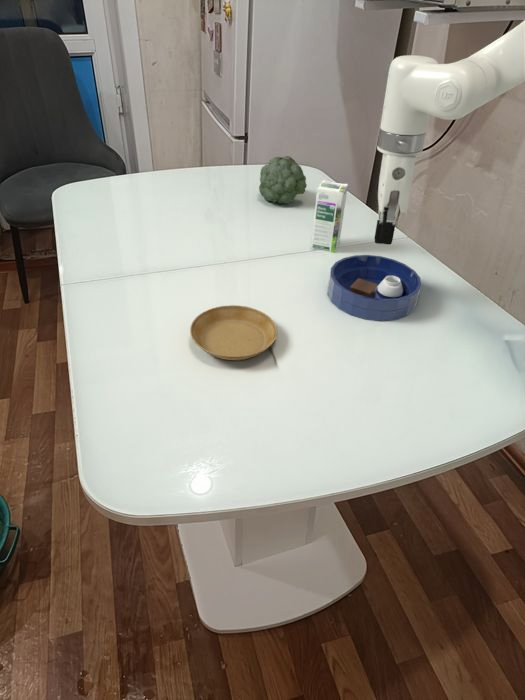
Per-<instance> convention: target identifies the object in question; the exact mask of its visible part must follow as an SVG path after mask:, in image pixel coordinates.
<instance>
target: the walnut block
mask: <svg viewBox="0 0 525 700" xmlns="http://www.w3.org/2000/svg"><path fill="white" fill-rule="evenodd" d="M377 287H378V284H375V283H372V282H369V281H366V280H363V279H360V278H358V279H357V280H356V281H355V282H354V283H353V284H352V285H351V286H350V290H349V291H351V292H353V293H355V294H358V295H362V296H365V297H369V298H375V296H376V291H377Z"/></svg>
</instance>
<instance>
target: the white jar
mask: <svg viewBox="0 0 525 700" xmlns="http://www.w3.org/2000/svg"><path fill="white" fill-rule="evenodd" d="M377 289H378V291H379V293H381V294H382V295H384V296H388V297H399V296H401V295H402V294H403V287H402V284H401V280H400V279H399V278H398V277H396V276H386V277H385V279H384V280H383V281H382V282H381V283H380V284H379V285H378V288H377Z"/></svg>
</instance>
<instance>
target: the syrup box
mask: <svg viewBox="0 0 525 700" xmlns="http://www.w3.org/2000/svg"><path fill="white" fill-rule="evenodd" d="M348 186H349V183H340V182H335V181H328V180H322V181H321V183H320V184H319V185H318V187H317V188H316V196H315V207H314V216H313V225H312V226H313V228H312V236H311V242H310V244H311V245H310V251H322V252H327V253H333V254H335V253H336V252H337V250H338V248H339V246H340V243H341V242H340V241H341V235H342V228H343V222H344V214H345V207H346V201H347V194H348V188H349V187H348Z"/></svg>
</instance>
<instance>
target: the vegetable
mask: <svg viewBox="0 0 525 700" xmlns="http://www.w3.org/2000/svg"><path fill="white" fill-rule="evenodd" d="M259 182H260V184H259V187H258V190H259V194H260V195H261V196H262V197H263V198H264V200H265V201H266V202H272V203H278V204H280V205H284V204H290V203H291V201H294V200H295V198H296V196H297V195H304V194H305V192H306V189H307V185H308V184H307V176H306V175H305V174H304V171H303V168H302V167H301V166H300V165H299V164H298V163H297V162H296V160H295V159H293V158H292V157H291V156H289V155H285V156H282V157H281V156H275V157H272V158H271V159H270V160H269V162H267V164H265V165H264V166H262V167H261V168H260V176H259Z"/></svg>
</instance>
